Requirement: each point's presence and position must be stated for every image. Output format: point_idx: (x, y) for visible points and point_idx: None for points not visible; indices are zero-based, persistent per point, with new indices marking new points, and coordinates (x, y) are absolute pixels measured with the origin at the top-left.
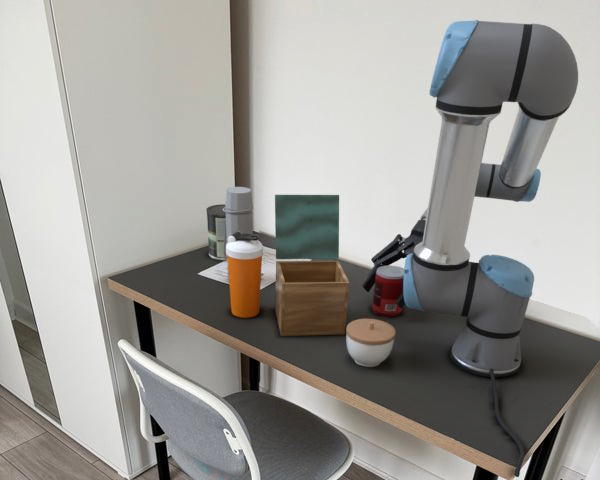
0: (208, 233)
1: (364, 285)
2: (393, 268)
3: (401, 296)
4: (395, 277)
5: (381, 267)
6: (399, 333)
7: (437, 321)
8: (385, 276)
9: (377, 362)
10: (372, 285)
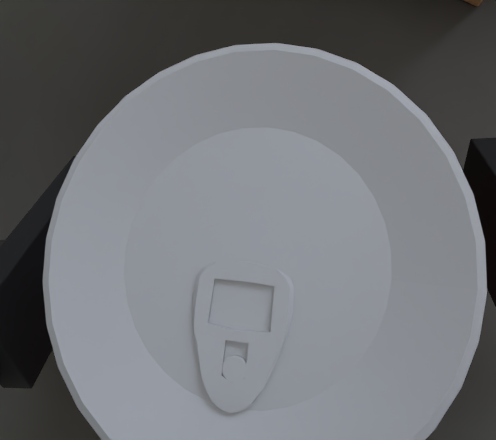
0: None
1: (481, 146)
2: (344, 394)
3: (55, 190)
4: (80, 153)
5: (453, 231)
6: (49, 129)
7: (13, 420)
8: (181, 67)
9: None
10: None
